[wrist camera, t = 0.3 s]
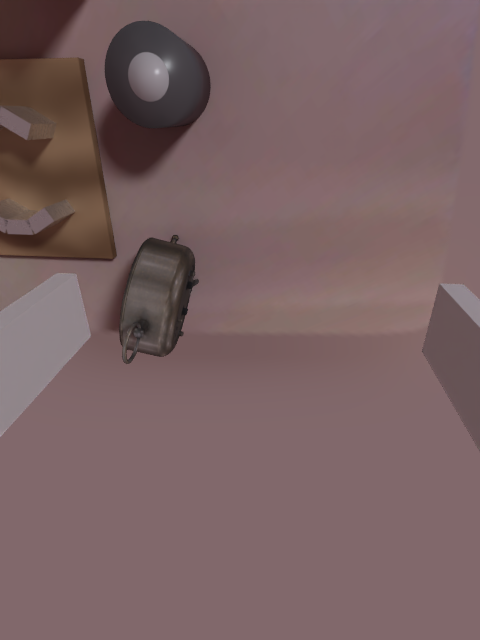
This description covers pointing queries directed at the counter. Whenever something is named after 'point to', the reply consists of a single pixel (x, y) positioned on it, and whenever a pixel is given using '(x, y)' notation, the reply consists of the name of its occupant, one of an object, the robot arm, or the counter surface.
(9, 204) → the grey curved walls
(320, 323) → the counter surface
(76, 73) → the board
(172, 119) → the dark grey cylinder
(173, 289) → the alarm clock
